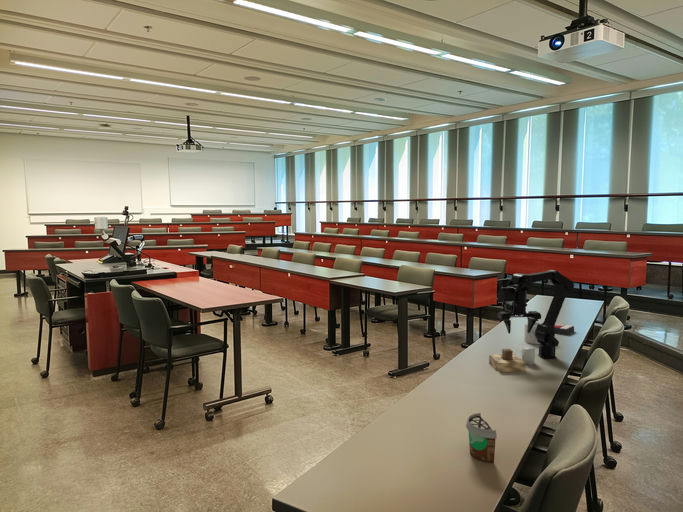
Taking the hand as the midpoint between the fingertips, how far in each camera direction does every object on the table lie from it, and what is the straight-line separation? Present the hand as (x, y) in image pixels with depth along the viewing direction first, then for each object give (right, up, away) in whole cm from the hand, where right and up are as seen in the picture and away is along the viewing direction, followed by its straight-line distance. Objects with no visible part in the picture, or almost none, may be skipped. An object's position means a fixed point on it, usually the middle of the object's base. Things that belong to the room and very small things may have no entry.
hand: (518, 333), depth 217 cm
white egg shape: (+3, -13, -3) cm, 14 cm away
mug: (+22, -10, +31) cm, 39 cm away
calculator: (+43, -8, +52) cm, 68 cm away
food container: (-44, -22, -82) cm, 96 cm away
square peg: (-8, -14, -8) cm, 18 cm away
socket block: (-8, -14, -8) cm, 18 cm away
